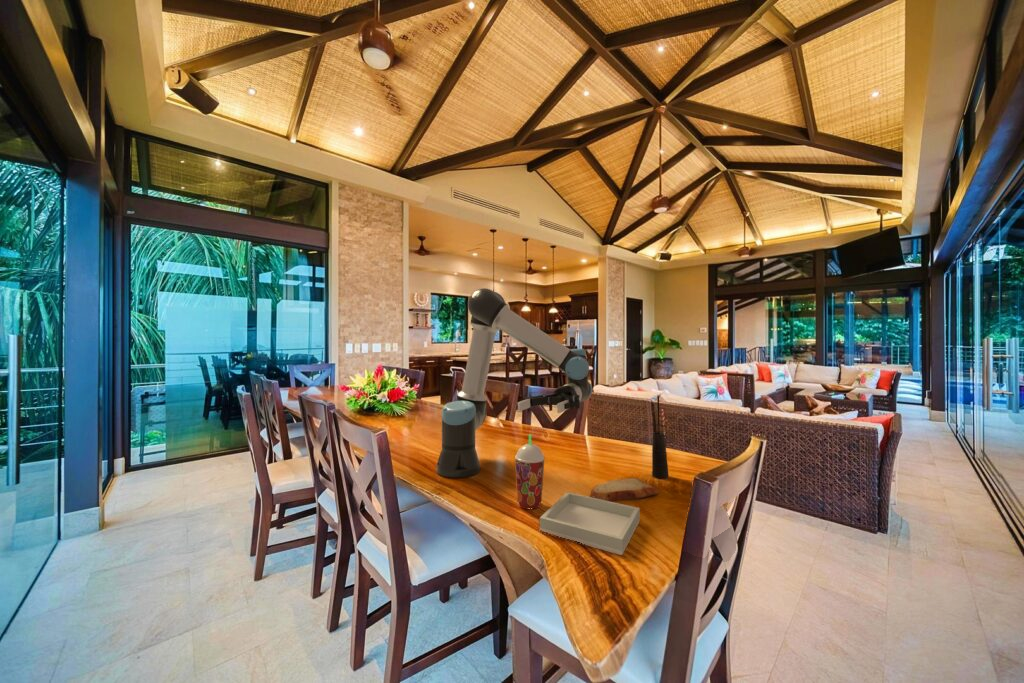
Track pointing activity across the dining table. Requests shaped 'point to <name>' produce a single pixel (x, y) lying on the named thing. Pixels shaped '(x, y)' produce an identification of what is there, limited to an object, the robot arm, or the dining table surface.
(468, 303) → the robot arm
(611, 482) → the slice of bread
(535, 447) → the smoothie
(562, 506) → the tray
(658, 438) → the black vase with stems
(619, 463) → the dining table surface
